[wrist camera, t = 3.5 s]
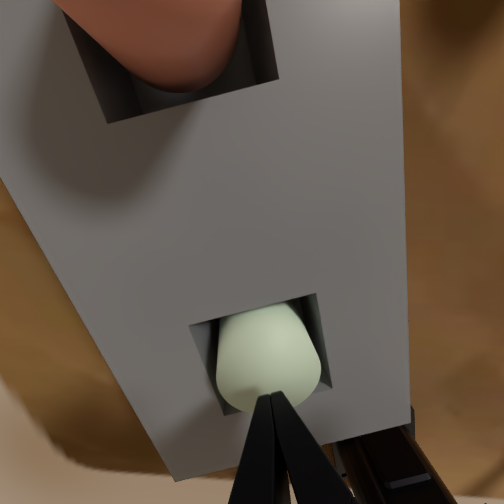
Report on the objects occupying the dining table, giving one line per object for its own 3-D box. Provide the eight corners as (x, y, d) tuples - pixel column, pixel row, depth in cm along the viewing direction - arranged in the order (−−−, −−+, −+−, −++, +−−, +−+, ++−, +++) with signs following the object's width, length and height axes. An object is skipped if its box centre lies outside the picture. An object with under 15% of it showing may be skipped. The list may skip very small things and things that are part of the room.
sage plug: (296, 325, 15) (327, 400, 10) (231, 341, 15) (232, 424, 10) (283, 265, 13) (312, 320, 9) (212, 284, 13) (202, 347, 9)
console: (360, 350, 17) (410, 422, 12) (190, 394, 17) (175, 481, 12) (301, -175, 9) (383, -573, 4) (-25, -88, 9) (-318, -379, 4)
